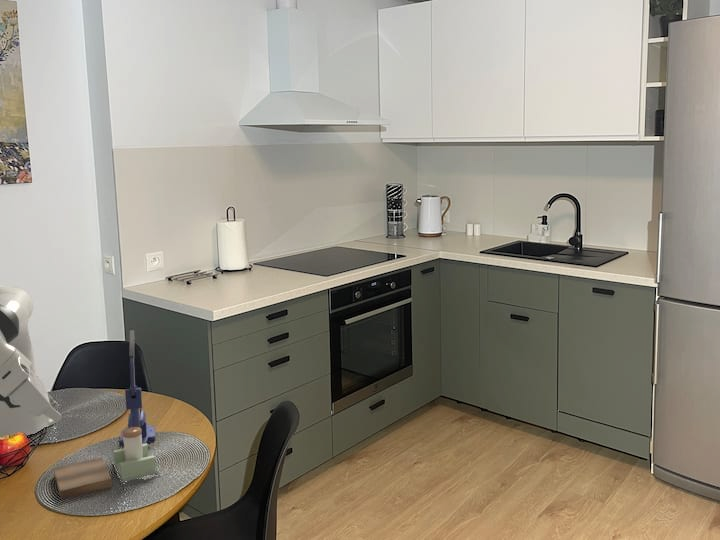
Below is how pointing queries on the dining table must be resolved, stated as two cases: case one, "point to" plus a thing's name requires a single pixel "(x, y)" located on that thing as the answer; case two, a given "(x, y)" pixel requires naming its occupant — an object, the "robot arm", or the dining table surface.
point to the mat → (138, 480)
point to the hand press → (136, 403)
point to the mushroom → (132, 443)
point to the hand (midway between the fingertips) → (57, 413)
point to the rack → (134, 465)
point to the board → (82, 478)
